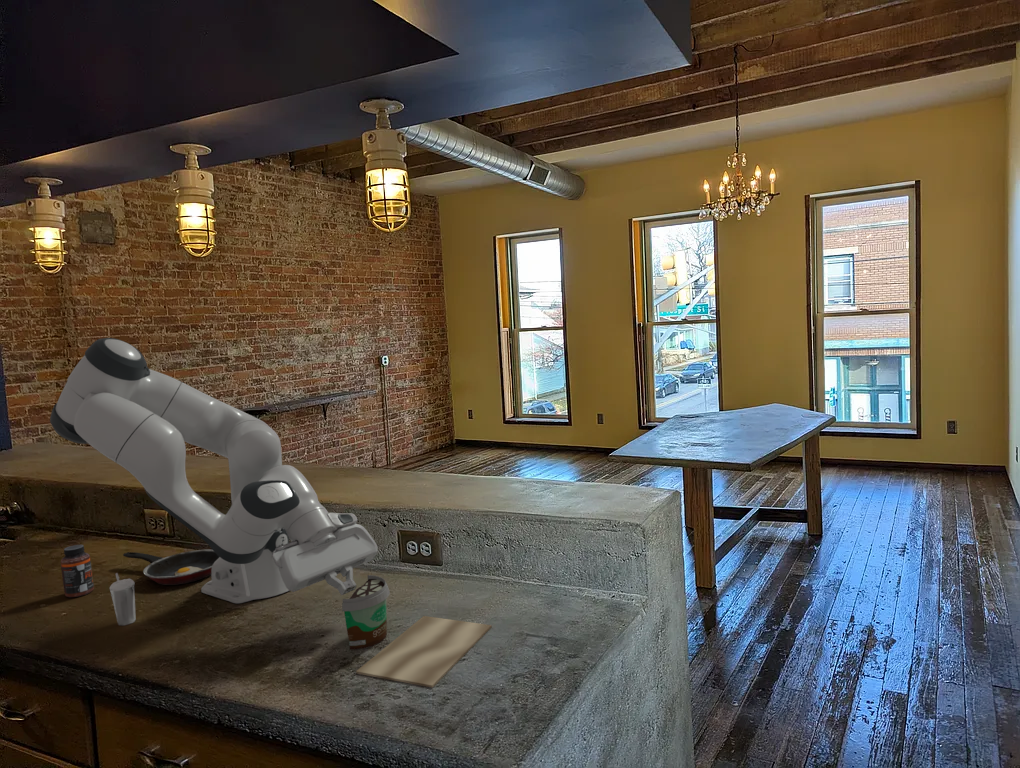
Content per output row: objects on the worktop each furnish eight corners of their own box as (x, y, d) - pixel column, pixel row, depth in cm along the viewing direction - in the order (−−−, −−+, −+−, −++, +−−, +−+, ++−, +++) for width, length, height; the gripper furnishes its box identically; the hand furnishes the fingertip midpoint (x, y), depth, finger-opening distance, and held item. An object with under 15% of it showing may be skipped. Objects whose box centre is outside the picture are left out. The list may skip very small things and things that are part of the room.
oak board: (356, 673, 116) (356, 671, 116) (423, 617, 136) (423, 615, 136) (432, 687, 110) (432, 685, 110) (491, 627, 130) (491, 625, 130)
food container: (378, 654, 122) (373, 601, 121) (346, 653, 124) (341, 600, 123) (402, 623, 134) (398, 574, 133) (373, 622, 136) (368, 574, 135)
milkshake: (134, 614, 148) (128, 569, 147) (142, 621, 144) (136, 575, 143) (110, 622, 145) (104, 576, 144) (118, 629, 141) (111, 582, 140)
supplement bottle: (93, 594, 161) (86, 548, 160) (63, 600, 159) (56, 553, 158) (95, 586, 167) (89, 541, 166) (67, 592, 164) (60, 546, 163)
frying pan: (181, 593, 158) (179, 578, 158) (92, 579, 172) (90, 565, 172) (244, 564, 175) (242, 550, 175) (158, 553, 189) (156, 540, 189)
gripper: (273, 540, 128) (308, 602, 123) (360, 511, 144) (395, 565, 138) (262, 559, 131) (297, 620, 126) (349, 529, 147) (383, 582, 142)
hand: (349, 591), depth 132 cm, fingers closed
